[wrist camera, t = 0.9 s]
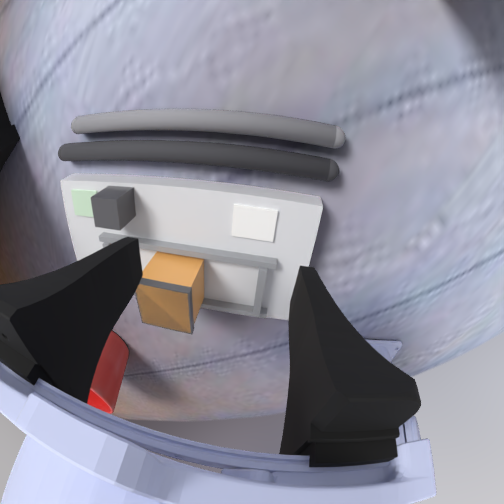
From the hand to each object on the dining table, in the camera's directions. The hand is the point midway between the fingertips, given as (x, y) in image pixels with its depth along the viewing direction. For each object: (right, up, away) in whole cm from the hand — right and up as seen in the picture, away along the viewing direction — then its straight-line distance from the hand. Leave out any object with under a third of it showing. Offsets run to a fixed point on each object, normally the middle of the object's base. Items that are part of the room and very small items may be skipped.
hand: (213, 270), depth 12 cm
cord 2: (-4, +8, +7) cm, 12 cm away
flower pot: (-19, -12, +22) cm, 32 cm away
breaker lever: (-4, -1, +10) cm, 11 cm away
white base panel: (-5, +2, +11) cm, 12 cm away
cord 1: (-3, +10, +6) cm, 12 cm away
